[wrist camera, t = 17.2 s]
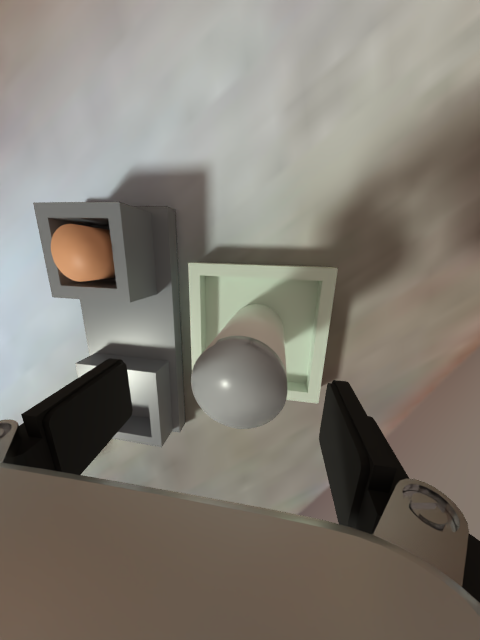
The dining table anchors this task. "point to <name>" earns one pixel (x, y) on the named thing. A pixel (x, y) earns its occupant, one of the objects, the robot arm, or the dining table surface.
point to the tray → (280, 295)
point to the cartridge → (243, 370)
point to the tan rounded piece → (83, 252)
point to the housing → (129, 307)
